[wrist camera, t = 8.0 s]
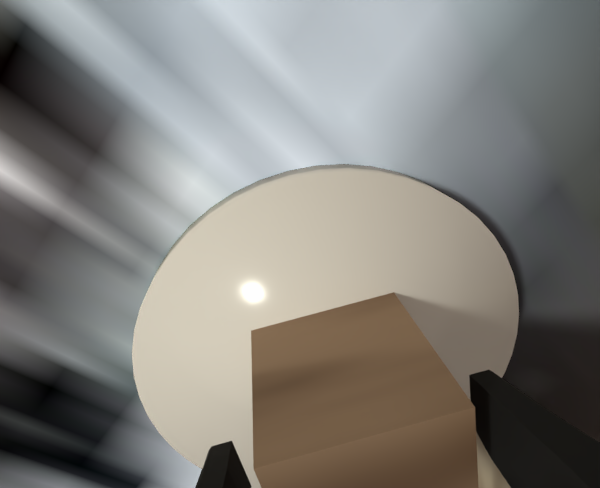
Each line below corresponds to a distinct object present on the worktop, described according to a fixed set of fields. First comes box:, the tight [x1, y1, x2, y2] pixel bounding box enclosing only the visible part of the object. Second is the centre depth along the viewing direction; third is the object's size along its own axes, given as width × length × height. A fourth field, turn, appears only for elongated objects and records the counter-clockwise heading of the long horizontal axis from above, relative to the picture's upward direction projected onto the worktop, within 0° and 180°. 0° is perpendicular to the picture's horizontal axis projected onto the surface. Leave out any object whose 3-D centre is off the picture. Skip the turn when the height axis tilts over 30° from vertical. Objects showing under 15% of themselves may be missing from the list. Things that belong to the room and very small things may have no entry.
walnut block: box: [251, 292, 479, 488], centre depth 11 cm, size 5×5×5 cm
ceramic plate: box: [132, 164, 519, 488], centre depth 14 cm, size 14×14×1 cm
